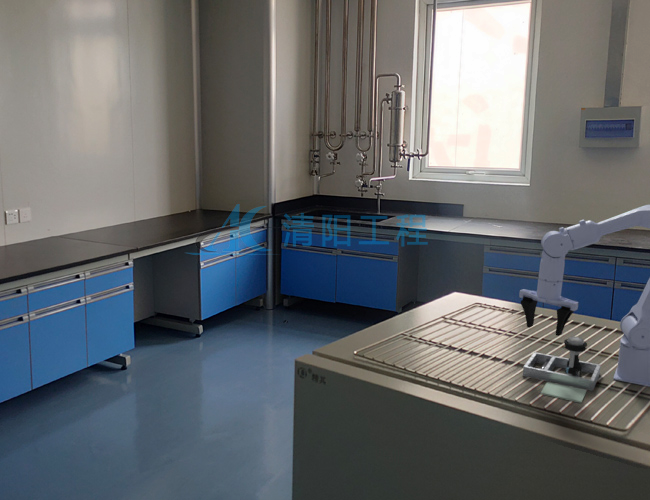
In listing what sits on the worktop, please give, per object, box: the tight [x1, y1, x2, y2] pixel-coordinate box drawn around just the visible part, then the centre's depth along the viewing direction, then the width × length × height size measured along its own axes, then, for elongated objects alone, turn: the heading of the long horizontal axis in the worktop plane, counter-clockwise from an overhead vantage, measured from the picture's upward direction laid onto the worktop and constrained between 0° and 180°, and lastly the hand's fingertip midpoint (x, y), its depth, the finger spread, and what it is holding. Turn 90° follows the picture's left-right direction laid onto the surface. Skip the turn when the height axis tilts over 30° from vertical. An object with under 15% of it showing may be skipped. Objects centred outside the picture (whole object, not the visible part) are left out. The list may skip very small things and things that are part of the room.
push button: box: [563, 335, 588, 377], centre depth 151 cm, size 7×5×10 cm
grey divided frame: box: [522, 351, 602, 392], centre depth 153 cm, size 16×12×2 cm
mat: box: [540, 381, 588, 404], centre depth 143 cm, size 9×7×1 cm
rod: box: [539, 361, 549, 370], centre depth 155 cm, size 2×8×2 cm
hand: (544, 330), depth 154 cm, fingers open, 7 cm apart
